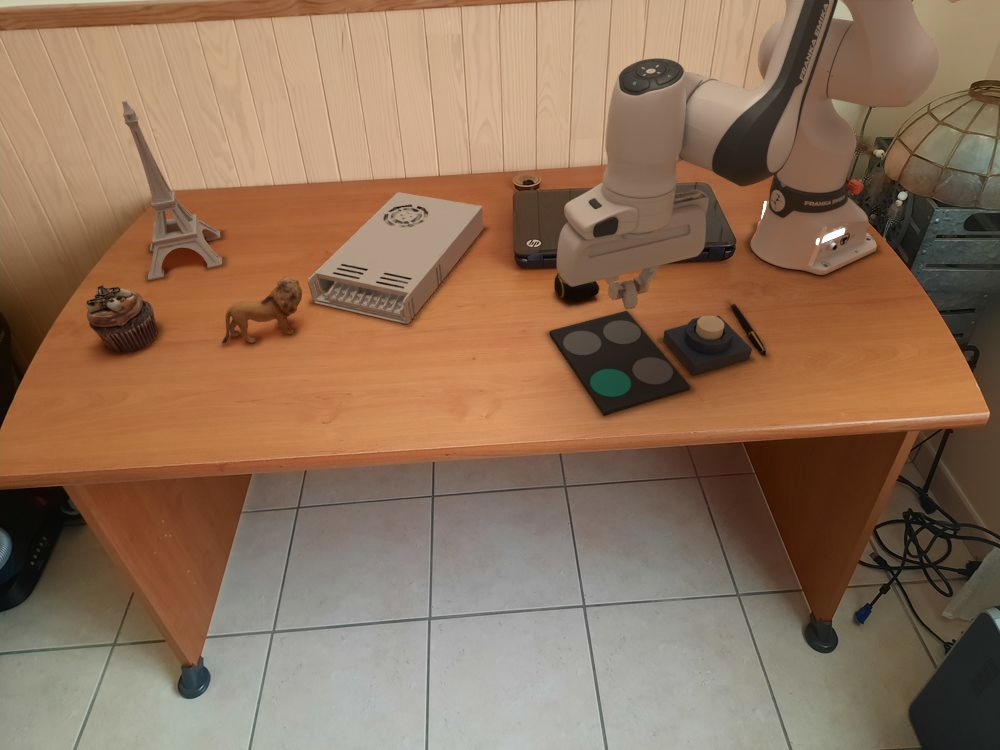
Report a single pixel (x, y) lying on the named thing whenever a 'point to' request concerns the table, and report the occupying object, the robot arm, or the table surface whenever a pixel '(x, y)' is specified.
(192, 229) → the eiffel tower
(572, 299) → the tape measure
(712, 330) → the button
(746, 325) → the fountain pen
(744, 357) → the dock
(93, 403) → the table surface
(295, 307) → the lion figurine
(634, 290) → the smartwatch
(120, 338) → the cupcake
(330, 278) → the power supply unit
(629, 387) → the mat
